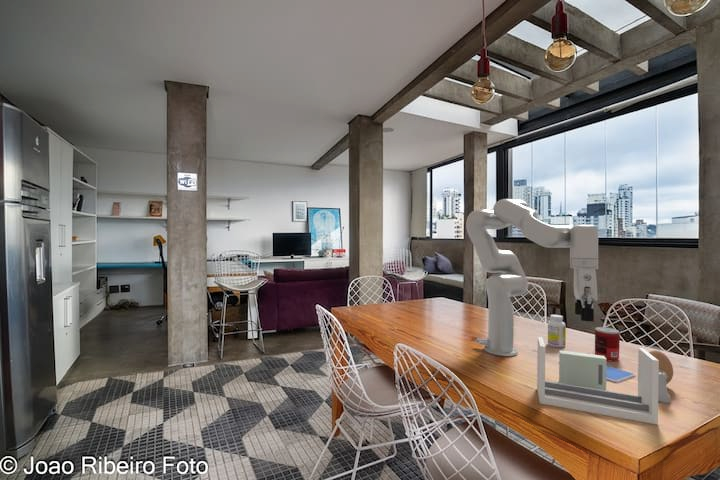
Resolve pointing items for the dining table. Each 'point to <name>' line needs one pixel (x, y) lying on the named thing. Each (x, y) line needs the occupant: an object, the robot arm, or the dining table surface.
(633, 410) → the cabinet base
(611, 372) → the tablet computer
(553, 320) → the supplement bottle
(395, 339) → the dining table surface
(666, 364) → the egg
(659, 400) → the rook chess piece
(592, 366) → the door panel
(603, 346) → the canned food
